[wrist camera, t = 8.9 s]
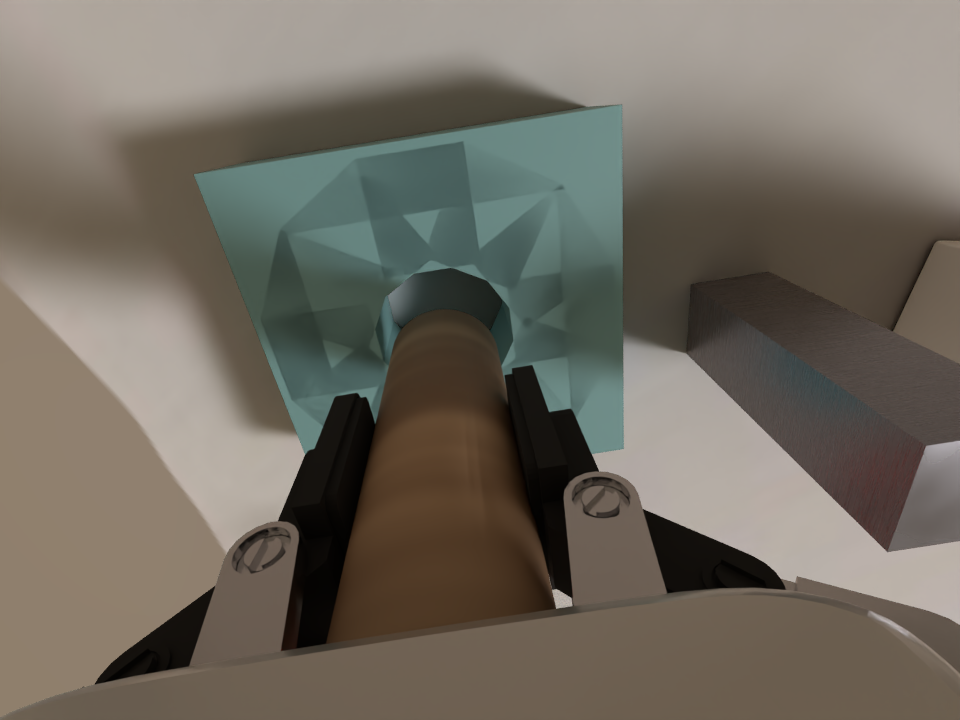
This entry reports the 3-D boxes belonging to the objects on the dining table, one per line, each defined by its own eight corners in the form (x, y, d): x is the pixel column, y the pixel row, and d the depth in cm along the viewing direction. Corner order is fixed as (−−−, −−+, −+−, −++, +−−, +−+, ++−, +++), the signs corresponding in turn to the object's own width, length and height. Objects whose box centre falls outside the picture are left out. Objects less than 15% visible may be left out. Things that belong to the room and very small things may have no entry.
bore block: (242, 162, 18) (193, 174, 15) (587, 106, 18) (621, 104, 15) (339, 440, 24) (321, 496, 21) (597, 400, 24) (623, 448, 21)
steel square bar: (691, 284, 22) (925, 445, 11) (769, 271, 22) (1080, 422, 11) (686, 353, 23) (887, 551, 13) (759, 342, 23) (1020, 531, 13)
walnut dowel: (380, 318, 15) (233, 780, 5) (490, 300, 15) (595, 725, 5) (404, 410, 17) (336, 907, 6) (504, 395, 17) (604, 866, 6)
